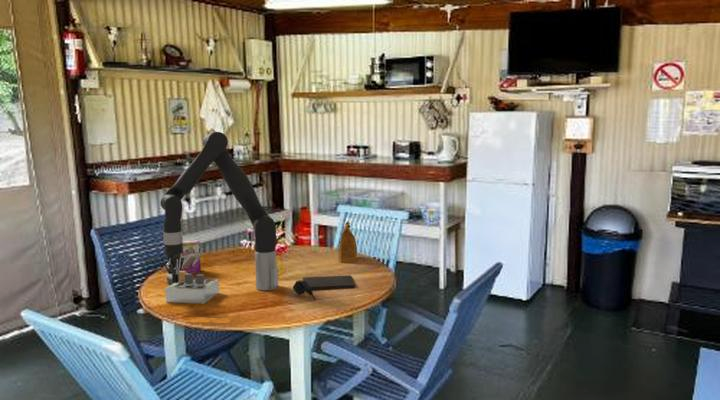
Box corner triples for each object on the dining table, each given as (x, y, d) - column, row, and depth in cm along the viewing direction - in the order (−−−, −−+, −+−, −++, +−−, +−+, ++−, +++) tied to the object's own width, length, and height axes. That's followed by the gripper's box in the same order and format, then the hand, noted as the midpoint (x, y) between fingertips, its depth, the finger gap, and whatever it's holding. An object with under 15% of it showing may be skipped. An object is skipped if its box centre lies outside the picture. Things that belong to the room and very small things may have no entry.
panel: (219, 292, 240) (218, 279, 240) (204, 303, 226) (203, 289, 225) (182, 291, 243) (182, 278, 242) (166, 302, 228) (165, 287, 227)
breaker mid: (194, 283, 232) (194, 273, 232) (190, 286, 228) (190, 275, 228) (187, 283, 233) (187, 273, 232) (183, 285, 229) (183, 275, 228)
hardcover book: (302, 282, 258) (302, 277, 257) (351, 280, 260) (351, 275, 260) (303, 292, 242) (303, 287, 241) (354, 289, 245) (354, 284, 244)
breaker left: (206, 283, 231) (205, 273, 231) (201, 286, 228) (201, 276, 227) (198, 283, 232) (198, 273, 231) (194, 286, 228) (194, 276, 227)
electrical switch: (174, 279, 249) (164, 271, 255) (173, 289, 250) (164, 281, 256) (192, 275, 255) (183, 268, 261) (192, 285, 257) (182, 277, 263)
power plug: (311, 299, 226) (295, 278, 231) (303, 311, 230) (288, 290, 235) (320, 296, 231) (304, 275, 236) (313, 307, 235) (297, 287, 239)
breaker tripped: (188, 280, 237) (187, 270, 236) (183, 283, 233) (183, 273, 232) (181, 280, 237) (180, 270, 237) (176, 282, 233) (176, 272, 233)
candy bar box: (177, 276, 268) (176, 243, 265) (177, 273, 272) (175, 241, 270) (201, 273, 272) (199, 241, 269) (200, 271, 276) (198, 239, 274)
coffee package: (357, 260, 295) (356, 220, 292) (357, 266, 283) (356, 224, 280) (338, 260, 295) (338, 220, 292) (338, 266, 283) (337, 225, 280)
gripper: (174, 245, 219) (176, 287, 222) (189, 239, 232) (191, 278, 235) (156, 245, 220) (159, 286, 223) (172, 238, 233) (174, 277, 236)
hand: (175, 282), depth 229 cm, fingers closed
